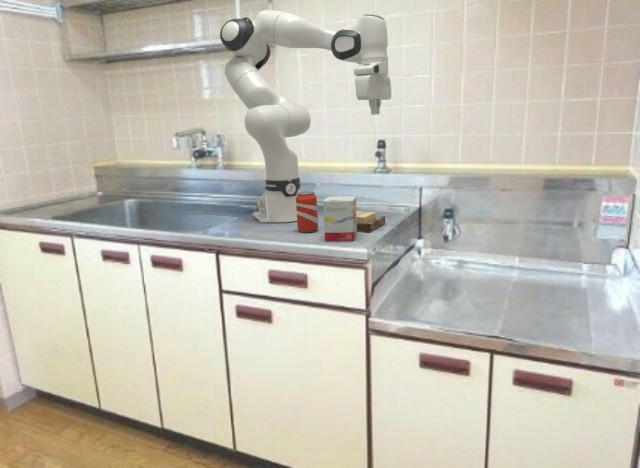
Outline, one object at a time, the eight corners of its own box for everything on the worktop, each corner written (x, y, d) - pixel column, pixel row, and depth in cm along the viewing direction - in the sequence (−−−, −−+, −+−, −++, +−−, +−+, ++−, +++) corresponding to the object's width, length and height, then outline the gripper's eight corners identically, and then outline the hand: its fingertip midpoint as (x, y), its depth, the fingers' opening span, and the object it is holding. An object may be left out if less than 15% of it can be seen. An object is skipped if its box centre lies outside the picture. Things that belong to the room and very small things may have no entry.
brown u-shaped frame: (351, 221, 165) (351, 214, 164) (385, 224, 159) (385, 216, 158) (334, 230, 155) (333, 222, 154) (369, 232, 149) (369, 224, 148)
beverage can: (322, 230, 155) (320, 192, 152) (305, 234, 151) (303, 195, 149) (310, 227, 160) (308, 190, 157) (294, 231, 156) (291, 193, 153)
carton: (355, 224, 162) (355, 210, 161) (376, 226, 158) (376, 212, 157) (343, 229, 155) (342, 215, 154) (365, 231, 151) (364, 217, 150)
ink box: (354, 241, 140) (352, 199, 137) (324, 241, 142) (322, 200, 139) (358, 234, 148) (356, 194, 145) (329, 234, 150) (327, 195, 147)
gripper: (378, 72, 168) (379, 114, 171) (351, 68, 151) (352, 115, 154) (395, 70, 165) (396, 113, 168) (370, 66, 147) (371, 114, 151)
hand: (375, 114), depth 161 cm, fingers closed
